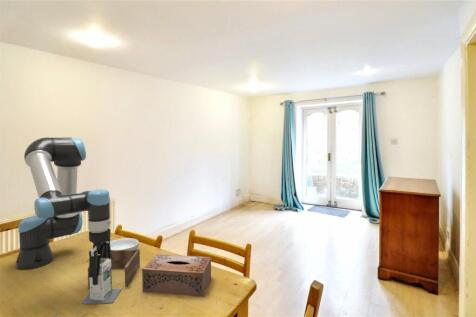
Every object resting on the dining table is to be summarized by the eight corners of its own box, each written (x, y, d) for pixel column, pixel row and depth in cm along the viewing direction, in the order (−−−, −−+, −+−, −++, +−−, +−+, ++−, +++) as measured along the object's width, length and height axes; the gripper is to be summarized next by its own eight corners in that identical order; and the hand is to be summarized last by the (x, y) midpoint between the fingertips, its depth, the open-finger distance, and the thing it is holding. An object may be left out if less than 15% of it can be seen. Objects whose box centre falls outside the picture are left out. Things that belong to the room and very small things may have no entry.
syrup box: (103, 301, 102) (102, 265, 101) (89, 299, 103) (88, 263, 101) (112, 292, 108) (111, 258, 106) (99, 291, 108) (98, 257, 107)
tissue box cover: (211, 278, 120) (211, 257, 120) (203, 297, 106) (203, 273, 105) (157, 274, 123) (156, 253, 123) (142, 292, 109) (142, 269, 108)
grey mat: (80, 304, 100) (80, 303, 100) (91, 290, 109) (91, 289, 109) (112, 303, 101) (112, 302, 101) (121, 289, 110) (121, 288, 110)
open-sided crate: (88, 288, 111) (87, 268, 110) (106, 267, 129) (105, 250, 128) (127, 287, 112) (127, 267, 111) (139, 267, 130) (139, 249, 129)
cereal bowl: (145, 254, 144) (145, 241, 144) (117, 266, 130) (117, 252, 130) (126, 247, 153) (126, 235, 153) (98, 258, 139) (97, 245, 139)
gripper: (97, 239, 94) (99, 301, 95) (119, 221, 114) (120, 272, 115) (75, 239, 93) (78, 301, 95) (101, 221, 113) (102, 273, 115)
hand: (101, 285), depth 105 cm, fingers open, 7 cm apart
